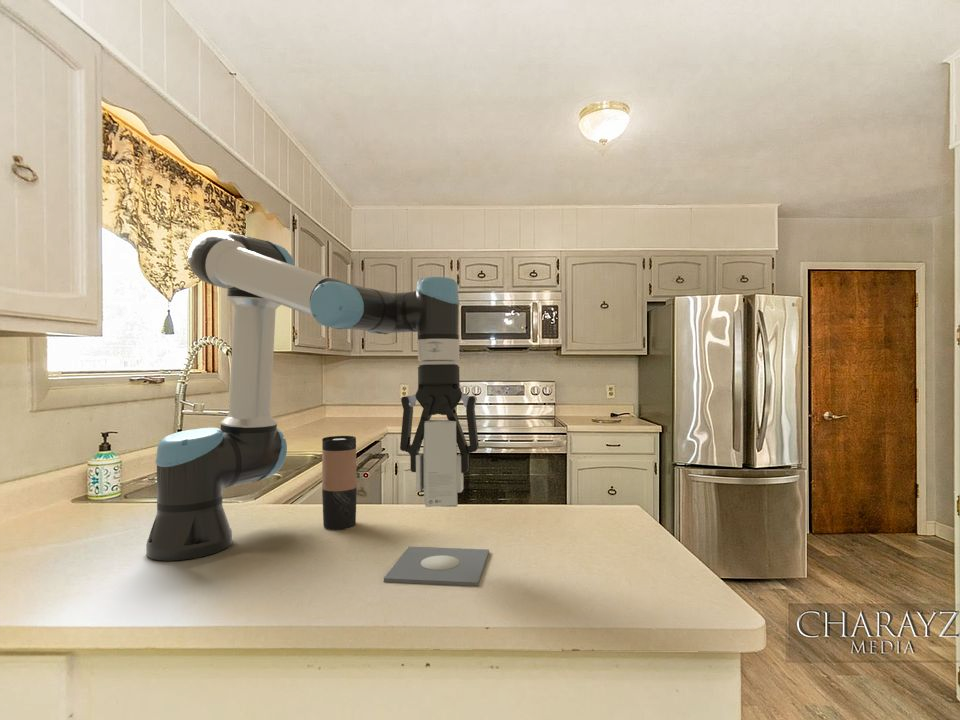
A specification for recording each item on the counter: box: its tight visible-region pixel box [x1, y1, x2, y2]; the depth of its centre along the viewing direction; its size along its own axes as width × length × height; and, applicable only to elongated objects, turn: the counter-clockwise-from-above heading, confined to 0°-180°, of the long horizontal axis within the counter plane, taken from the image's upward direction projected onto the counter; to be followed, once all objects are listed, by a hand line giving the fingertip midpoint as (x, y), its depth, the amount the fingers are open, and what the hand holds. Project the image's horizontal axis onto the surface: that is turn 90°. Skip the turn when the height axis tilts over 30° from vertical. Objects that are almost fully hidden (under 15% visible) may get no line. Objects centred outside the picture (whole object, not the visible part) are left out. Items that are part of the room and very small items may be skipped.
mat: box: [383, 546, 490, 587], centre depth 97 cm, size 16×16×1 cm
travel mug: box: [321, 435, 358, 531], centre depth 123 cm, size 8×8×20 cm
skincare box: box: [422, 418, 458, 508], centre depth 97 cm, size 8×6×15 cm
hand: (439, 490), depth 97 cm, fingers closed on skincare box, 7 cm apart
